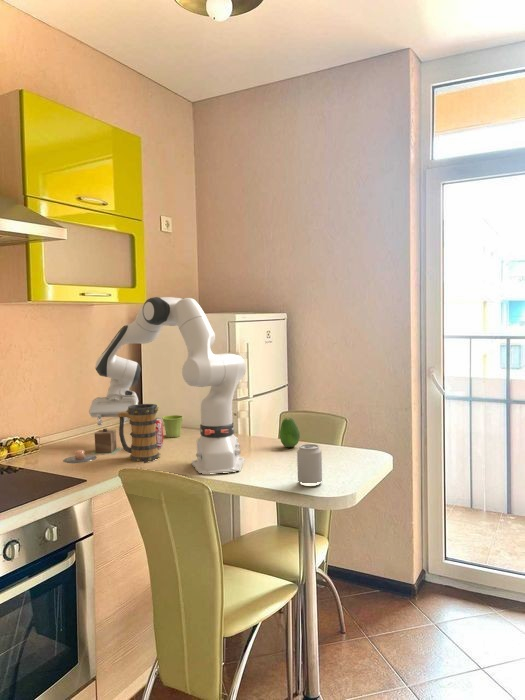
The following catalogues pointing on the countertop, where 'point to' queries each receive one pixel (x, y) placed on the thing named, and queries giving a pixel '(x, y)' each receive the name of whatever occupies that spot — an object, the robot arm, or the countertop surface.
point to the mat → (106, 453)
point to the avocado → (289, 433)
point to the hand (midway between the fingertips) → (110, 424)
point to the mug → (141, 432)
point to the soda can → (159, 433)
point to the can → (309, 463)
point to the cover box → (105, 441)
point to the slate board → (72, 460)
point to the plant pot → (173, 425)
